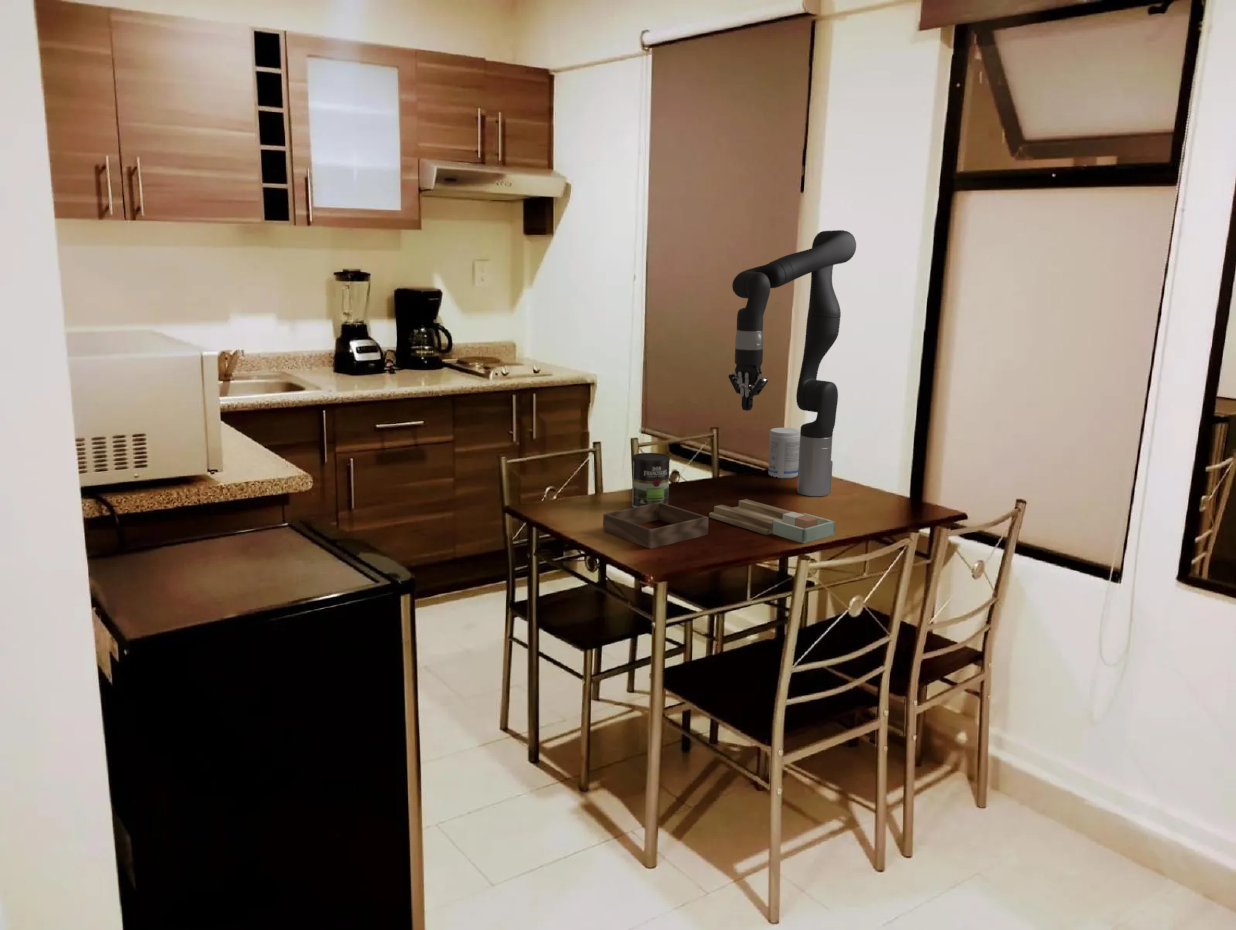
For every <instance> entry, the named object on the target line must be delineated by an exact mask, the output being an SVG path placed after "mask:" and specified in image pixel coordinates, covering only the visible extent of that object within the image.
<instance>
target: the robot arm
mask: <svg viewBox="0 0 1236 930" xmlns="http://www.w3.org/2000/svg"><path fill="white" fill-rule="evenodd" d="M856 249H857V241H856V237H855V236H854V235H853V234H852V233H851V232H849V231H848V230H843V229H837V230H822V231H820V232H818V233H817V234H816V235H815V236H814V238H813V241H812V245H811V248H808V249H805V250H802V251H798V252H793V253H790V254H787V255H783V256H782V257H779V258H777V259H774V260H772V261H771V262H769V263H766V264H763V265H760V266H756V267H752V268H748V269H746V270H743V271H741V272H739V273H737V275H736V276H735V277H734V278H733V280H732V285H731V287H732V291H733V292H734V294H735V295H736V296H737V297H739V298H742V299H747V302H746V303H745V307H742V308H740V309H739V310H738V311H737V315H736V333H735V338H734V340H735V341H734V344H735V345H734V364H735V368H734V372H733V373H731V374H729V375H728V379H729V381H730V383H731V385H732V387H733V389H734V391H735V393H736V394H739V395H740V397H741V410H742V411H745V412H747V411H748V412H749V411H751V410H752V409H753V404H754V397H756V396H758V395H760V393H761V392H762V391H763V390H764V388H765V386H766V385H767V384H768V382H769V379H768V378H767V377H766V378H765V377H764V375H762V373H763V372H762V369H761V367H762V364H763V358H764V355H763V354H764V331H763V330H764V315H765V312H766V308H767V305H768V301H769V297H770V294H771V289H777V288H781V287H782V286H784V285H786V284H788V283H791V282H793V281H794V280H797V279H799V278H801V277H803V276H805V275H808V274H810V291H809V302H808V308H807V309H808V310H807V318H806V327H805V328H806V329H805V340H804V349H803V355H802V360H801V366H800V372H799V377H798V381H797V382H798V383H797V386H796V387H797V388H796V395H795V397H796V405H797V407H798V409H800V410H801V411H804V412H805V411H806V412H811V413H817V414H816V419H815V420H813V421H812V422H807V423H804V424H802V425H801V426H800V429H799V430H800V448H799V465H798V476H797V486H796V493H798V494H799V495H803V496H808V497H809V496H810V497H825V496H827V495H829V493H831V491H832V478H833V464H834V463H833V460H832V453H833V452H832V450H833V435H834V429H835V425H836V419H837V407H838V402H839V392H838V391H839V390H838V386H837V385H836V384H835V382H832V381H830V380H829V381H827V380H819V379H817V378H818V374H819V373H818V371H819V369H820V368H819V367H820V365H821V363H822V360H823V359H824V357H825V356H826V355H827V353H828V352H829V350H830V349H831V347H832V346H833V345H834V344H835V342H836V341H837V339H838V337H839V333H840V332H839V331H840V324H841V316H842V315H841V313H842V312H841V307H840V303H839V301H838V297H837V295H836V293H835V292H836V291H835V289H834V285H833V269H834V266H835V265H839V264H840V265H841V264H844V263H847V262H848V261H850V260H851V259H853V257H854V255H855V253H856Z"/></svg>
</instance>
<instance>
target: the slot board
mask: <svg viewBox="0 0 1236 930" xmlns="http://www.w3.org/2000/svg"><path fill="white" fill-rule="evenodd" d="M790 512H792V511H790V510H787V509H783V508H779V507H776V506H772V505H769V504H766V503H765V504H764V503H761V502H757V501H755V500H750V499H748V498H745V499H741V500H738V506H733V507H731V506H728V505H724V504H719V505H714V506H713V511H712V512H711V511H710V512H709V514H708V517H709V518H711V519H713V520H717V521H721V522H724V523H727V524H731V525H733V526H737V527H740V528H743V529H747V530H750V531H753V532H756V533H759V534H763V535H770V534H773V521H775V520H776V521H780V522H782V519H783V514H786V513H790Z"/></svg>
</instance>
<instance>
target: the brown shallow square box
mask: <svg viewBox="0 0 1236 930" xmlns="http://www.w3.org/2000/svg"><path fill="white" fill-rule="evenodd" d="M602 516H603V517H602V519H603V520H602V532H604V533H607V534H610V535H611V536H612V535H613V536H615V537H618V538H620V539H623V540H626V541H629V542H631V543H633V544H637V545H640V546H642V547H645V548H647V549H656V548H660V547H664V546H667V545H671V544H677V543H680V542H684V541H687V540H692V539H696V538H700V537H703V536H707V535H709V521H710V520H709V518H710V517H709V516H706V515H704V514H699V513H697V512H694V511H691V510H686V509H684V508H681V507H677V506H673V505H670V504H669V503H668V504H664V503H661V502H658V503H653V504H648V505H644V506H639V507H630V508H625V509H621V510H620V509H619V510H615V511H612V512H607V513H605V512H604V513H603V514H602ZM655 521H662V522H664V523H665V522H666V523H668V524H667V525H664V526H660V527H655V528H649V527H646V526H643V525H641V524H645V523H646V524H647V523H651V522H655Z"/></svg>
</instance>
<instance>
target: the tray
mask: <svg viewBox="0 0 1236 930" xmlns="http://www.w3.org/2000/svg"><path fill="white" fill-rule="evenodd" d="M802 514H803V515H807V516H811V517H814V518H818V525H816V526H813V527H809V528H805V529H803V528H800V527H797V526H793V525H790V524H786V523H783V522H780V521H776V520H775V521H773V533H772V535H775V536H779V537H782V538H785V539H788V540H790V541H791V540H792V541H794V542H798V543H801V544H806V543H810V542H814V541H818V540H821V539H824V538H828V537H832V536H835V535H836V524H837V523H836V522H837V521H834V520H832V519H827V518H824V517H820V516H816V515H813V514H809V513H806V512H802Z"/></svg>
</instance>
